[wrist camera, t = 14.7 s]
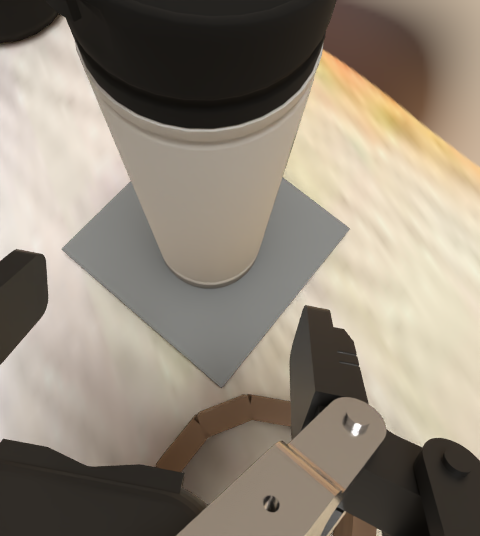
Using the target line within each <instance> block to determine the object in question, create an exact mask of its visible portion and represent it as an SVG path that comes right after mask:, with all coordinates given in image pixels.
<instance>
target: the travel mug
mask: <svg viewBox="0 0 480 536" xmlns="http://www.w3.org/2000/svg"><path fill="white" fill-rule="evenodd" d="M45 1H46V2H47V3H48V4H49V5H50V6H51V7H52V8H53V9H54V10H55V11H56V12H57V13H58V14H60V15H62V16H64V17H66V20H67V22H68V25H69V27H70V29H71V32H72V34H73V37H74V39H75V44H76V50H77V52H78V55H79V57H80V60H81V62H82V65H83V67H84V70H85V72H86V75H87V77H88V79H89V81H90V84H91V86H92V89H93V91H94V94H95V96H96V98H97V101H98V103H99V106H100V108H101V110H102V113H103V115H104V117H105V120H106V122H107V125H108V127H109V129H110V132H111V134H112V137H113V139H114V141H115V144H116V146H117V149H118V151H119V153H120V156H121V158H122V160H123V163H124V165H125V168H126V170H127V172H128V175H129V177H130V180H131V182H132V184H133V187H134V189H135V192H136V194H137V196H138V199H139V201H140V203H141V206H142V208H143V211H144V213H145V215H146V218H147V220H148V223H149V225H150V227H151V230H152V232H153V234H154V237H155V239H156V242H157V244H158V246H159V249H160V251H161V254H162V256H163V258H164V261H165V263H166V265H167V266H168V267H169V269H170V270H171V272H172V273H174V274H175V275H176V276H177V277H178V278H179V279H181V280H182V281H184V282H185V283H187V284H190V285H192V286H195V287H200V288H220V287H225V286H227V285H230V284H232V283H235V282H236V281H238V280H239V279H241V278H242V277H243V276H244V275H245V274H246V273H247V272H248V271H249V270H250V269H251V267H252V266H253V264H254V263H255V260H256V258H257V255H258V252H259V249H260V246H261V243H262V240H263V237H264V234H265V230H266V227H267V224H268V221H269V218H270V215H271V212H272V209H273V205H274V202H275V199H276V196H277V193H278V190H279V187H280V184H281V181H282V177H283V174H284V171H285V168H286V165H287V162H288V159H289V156H290V152H291V149H292V146H293V143H294V140H295V137H296V134H297V131H298V127H299V124H300V121H301V118H302V115H303V112H304V109H305V106H306V103H307V99H308V96H309V93H310V90H311V87H312V84H313V81H314V75H315V73H316V70H317V68H318V65H319V62H320V59H321V56H322V49H323V42H324V39H325V33H326V29H327V27H328V24H329V22H330V19H331V16H332V13H333V10H334V7H335V4H336V0H45Z"/></svg>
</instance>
